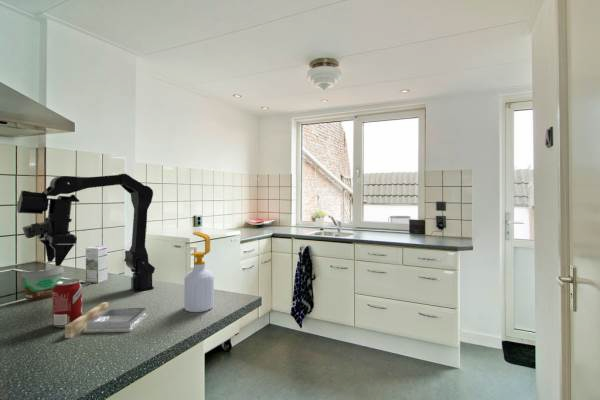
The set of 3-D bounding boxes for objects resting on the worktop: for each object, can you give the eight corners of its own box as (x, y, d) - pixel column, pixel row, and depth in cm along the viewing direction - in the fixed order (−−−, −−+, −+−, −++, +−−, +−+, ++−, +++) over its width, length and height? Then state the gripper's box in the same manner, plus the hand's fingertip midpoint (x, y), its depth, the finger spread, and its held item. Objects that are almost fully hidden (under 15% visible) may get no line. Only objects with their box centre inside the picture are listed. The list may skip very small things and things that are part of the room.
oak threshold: (103, 311, 100) (103, 302, 100) (108, 311, 100) (108, 302, 100) (65, 337, 82) (64, 326, 82) (71, 337, 82) (71, 325, 82)
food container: (28, 303, 106) (27, 273, 106) (20, 300, 110) (20, 271, 110) (70, 294, 117) (70, 266, 117) (62, 291, 120) (62, 264, 120)
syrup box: (108, 279, 137) (108, 245, 137) (98, 283, 131) (97, 247, 131) (95, 279, 138) (95, 245, 138) (85, 282, 132) (85, 247, 132)
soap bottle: (190, 302, 109) (190, 230, 109) (217, 303, 109) (217, 230, 108) (179, 312, 100) (180, 233, 100) (208, 313, 100) (209, 234, 99)
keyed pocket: (107, 315, 97) (107, 307, 97) (148, 314, 98) (148, 307, 98) (84, 332, 85) (83, 323, 85) (131, 331, 86) (131, 323, 86)
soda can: (66, 330, 87) (66, 285, 86) (46, 327, 88) (45, 283, 88) (87, 320, 93) (87, 279, 93) (68, 318, 95) (68, 277, 94)
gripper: (20, 212, 104) (14, 260, 103) (34, 215, 92) (27, 270, 91) (62, 214, 112) (57, 259, 111) (79, 217, 100) (74, 267, 99)
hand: (53, 263), depth 103 cm, fingers open, 9 cm apart
